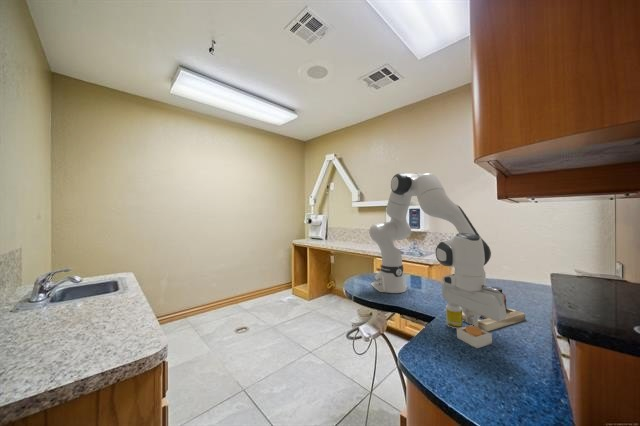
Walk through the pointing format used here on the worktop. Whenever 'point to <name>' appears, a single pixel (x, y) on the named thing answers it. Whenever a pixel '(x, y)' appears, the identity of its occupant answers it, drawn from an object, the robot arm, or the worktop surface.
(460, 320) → the supplement bottle
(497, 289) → the supplement bottle
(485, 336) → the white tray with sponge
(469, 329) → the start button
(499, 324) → the frame
